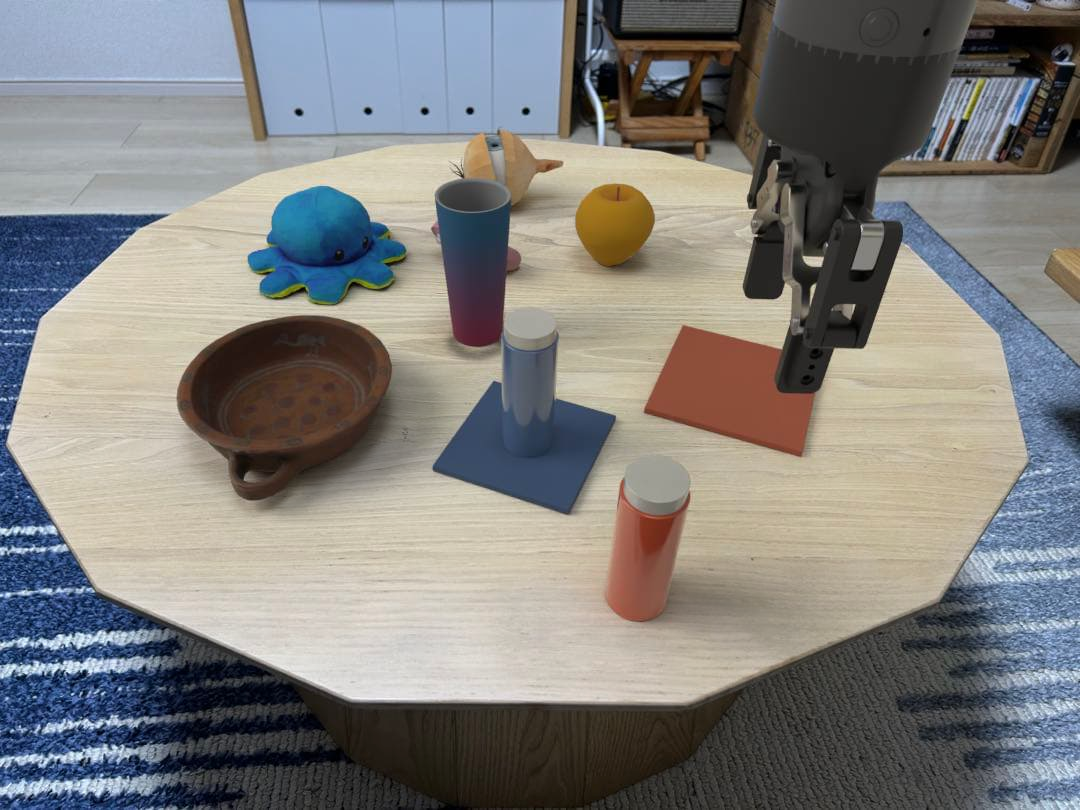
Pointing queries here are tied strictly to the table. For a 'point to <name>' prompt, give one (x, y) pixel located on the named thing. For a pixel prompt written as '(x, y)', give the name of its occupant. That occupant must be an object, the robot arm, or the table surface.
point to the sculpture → (504, 162)
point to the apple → (614, 222)
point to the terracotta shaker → (646, 536)
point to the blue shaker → (529, 381)
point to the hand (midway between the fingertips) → (776, 338)
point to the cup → (475, 255)
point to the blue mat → (530, 479)
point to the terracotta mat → (730, 391)
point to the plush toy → (324, 247)
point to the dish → (284, 395)
